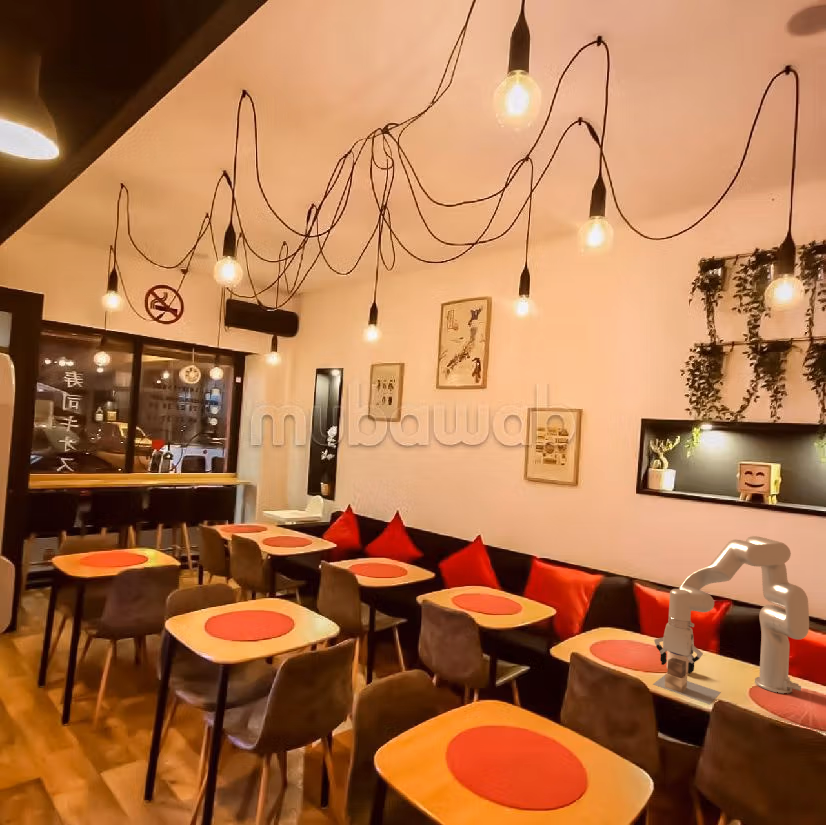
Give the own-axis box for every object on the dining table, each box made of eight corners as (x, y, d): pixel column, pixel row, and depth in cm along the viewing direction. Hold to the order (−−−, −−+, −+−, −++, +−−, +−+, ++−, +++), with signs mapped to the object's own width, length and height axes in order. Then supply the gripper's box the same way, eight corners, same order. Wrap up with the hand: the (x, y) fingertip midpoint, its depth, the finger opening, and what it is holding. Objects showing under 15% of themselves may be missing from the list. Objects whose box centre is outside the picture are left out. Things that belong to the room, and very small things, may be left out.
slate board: (721, 694, 213) (721, 692, 213) (709, 707, 202) (709, 704, 202) (666, 676, 226) (666, 673, 226) (652, 686, 215) (652, 684, 215)
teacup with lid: (693, 673, 232) (695, 644, 232) (684, 678, 226) (686, 649, 226) (664, 662, 241) (666, 635, 241) (655, 667, 235) (656, 639, 235)
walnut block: (685, 674, 214) (686, 661, 214) (681, 678, 211) (681, 664, 211) (671, 670, 218) (672, 657, 218) (667, 673, 214) (668, 660, 214)
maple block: (686, 688, 214) (687, 674, 214) (681, 692, 210) (682, 679, 210) (670, 682, 218) (670, 669, 218) (664, 686, 214) (665, 673, 214)
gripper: (706, 627, 212) (704, 673, 211) (659, 614, 223) (657, 658, 223) (700, 631, 206) (698, 678, 205) (652, 618, 218) (650, 663, 217)
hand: (676, 668), depth 214 cm, fingers open, 9 cm apart
